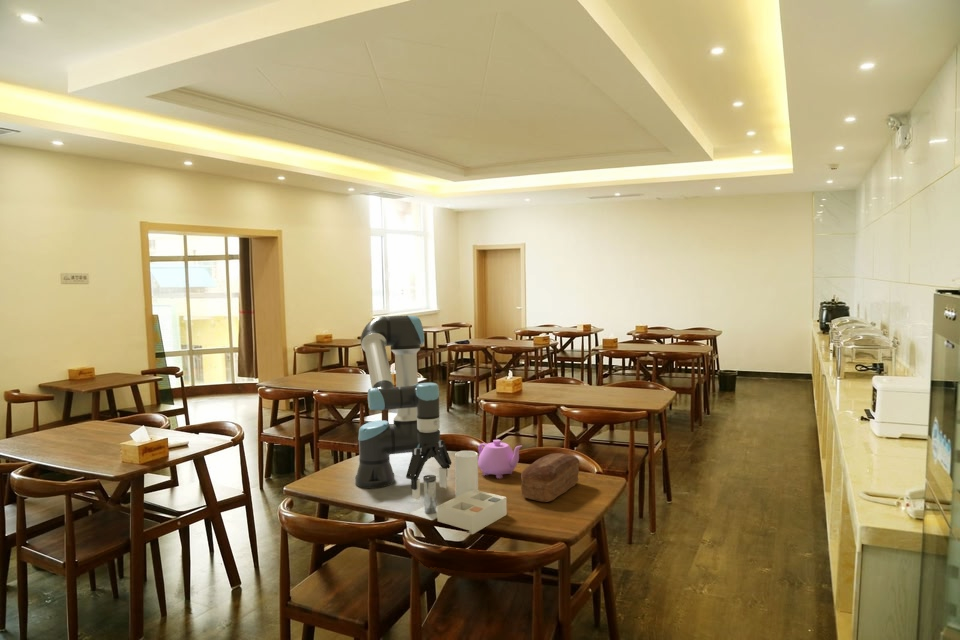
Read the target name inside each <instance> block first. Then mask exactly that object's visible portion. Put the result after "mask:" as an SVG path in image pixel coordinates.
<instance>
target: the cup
mask: <svg viewBox="0 0 960 640" xmlns="http://www.w3.org/2000/svg"><path fill="white" fill-rule="evenodd" d="M478 454H479V453H478V452H476V451H475V450H460V451H457V452H455V453H454V479H455V481H454V482H455V483H454V484H455V486H454V487H455V490H454V492H455V497H457V496H459V495H461V494H464V493H466V492H468V491H470V490H472V489H475V490H479V466H478Z"/></svg>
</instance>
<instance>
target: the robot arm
mask: <svg viewBox="0 0 960 640" xmlns="http://www.w3.org/2000/svg"><path fill="white" fill-rule="evenodd" d="M424 343H425V333H424V326H423V323H422V320H421V319H420V317H419V316H417V315H407V314H406V315H391V316H386V315H385V316H384V315H382V316H378V317H375V318H373V319H371V320H369V322H368V323H367V324H366V325H365V327H364V328H363V330H362V332H361V335H360V345H361V348H362V350H363V352H365V353H364V354H365V358H366V363H367V364H366V365H367V369H368V373H369V379H370V385H371V388H368V391H367V404H368V409H369V410H370V411H388V410H396V414H397V415H396V416H394V418H393V424H392V423H390V422H389V421H388V420H385V419H384V420H375V421H370V422H366V423H365V424H362V425H361V426H360V427H359V429H358V439H357V440H358V450H359V451H358V454H359V455H358V458H359V460H358V461H359V463H358V464H359V465H358V467H357V473H356V475H355V485H356V486H357V487H359V488H365V489H379V488H385V487H387V486H390V485H392V484H393V483H394V482H395V481H396V480H395V479H396V478H395V473H394V471H393V467H392V465H391V460H390V456H391V455H395V454H396V455H398V454H406V453H407V454H409V453H411V458H410V461H409V464H408V469H407V471H406V476H405V478H406V479H409V480H410V486H411V487H410V488H411V491H412V492H411V493H412V495H411V497H412V499H415V500H421V483H420V482H421V480H420V478H419V477H420V475H421V472H422V470H423V469H424V466H425V464H426V463H427V461H428V460H429V459H431V458H434V459H435V461H436V462H437V463H438V465H439V466H440V467H438V468H439V469H438V477H439V478H438V480H439V481H438V482H439V487H440V488H444V489H446V488H448V478H447V477H448V469H450V468H451V465H452V460H451V457H450V454H449V452H448V449H447V447H446V441H445V440H443V439H441V431H440V428H441V427H440V425H441V424H440V422H441V421H440V389H439V384H438V383H436V382H420V383H419V382H418V359H417V353H418V352H420V350H421V345H423V344H424ZM388 346H389V347H390V351H391V352H392V353H393V354H394V362H395V363H394V364H395V365H394V366H395V367H394V368H395V384H394V381H393V376H392V372H391V368H390V364H389V360H388V354H387V350H386V349H387V348H386V347H388Z"/></svg>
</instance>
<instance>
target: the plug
mask: <svg viewBox="0 0 960 640" xmlns="http://www.w3.org/2000/svg"><path fill="white" fill-rule="evenodd" d="M422 478H423V480H422V481H423V503H424V505H423V507H424V513H425V514H434V513H436V506H437V482H436V481H437V476H436V475H434V474H426V475H424V476H423V477H422Z"/></svg>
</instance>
